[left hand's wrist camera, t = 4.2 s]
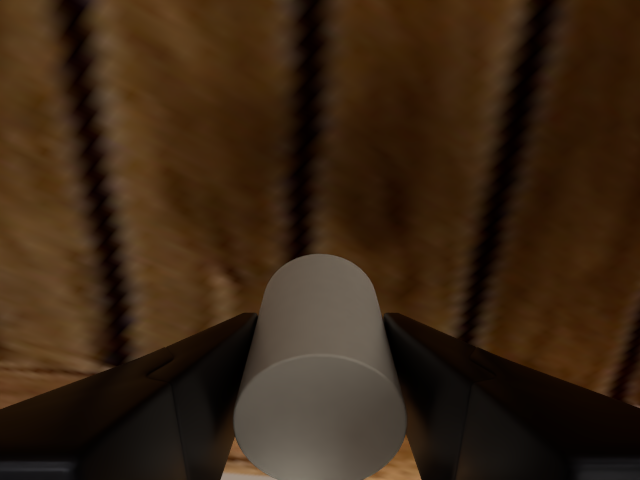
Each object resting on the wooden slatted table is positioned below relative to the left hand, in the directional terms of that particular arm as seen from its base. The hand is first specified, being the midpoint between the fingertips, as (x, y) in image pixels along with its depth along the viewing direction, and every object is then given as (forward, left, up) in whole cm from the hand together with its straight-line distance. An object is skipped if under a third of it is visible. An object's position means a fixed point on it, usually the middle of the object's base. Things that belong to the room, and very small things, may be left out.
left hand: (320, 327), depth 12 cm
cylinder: (0, 0, -1) cm, 1 cm away
